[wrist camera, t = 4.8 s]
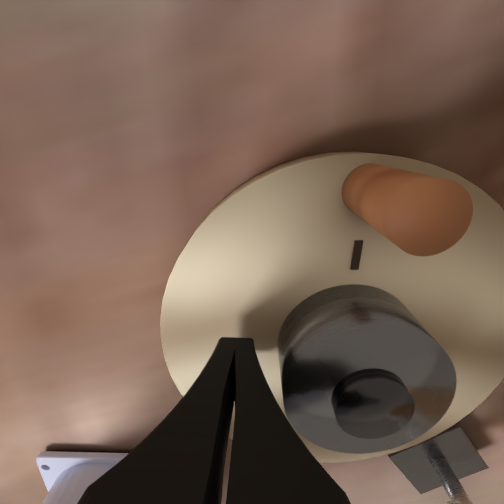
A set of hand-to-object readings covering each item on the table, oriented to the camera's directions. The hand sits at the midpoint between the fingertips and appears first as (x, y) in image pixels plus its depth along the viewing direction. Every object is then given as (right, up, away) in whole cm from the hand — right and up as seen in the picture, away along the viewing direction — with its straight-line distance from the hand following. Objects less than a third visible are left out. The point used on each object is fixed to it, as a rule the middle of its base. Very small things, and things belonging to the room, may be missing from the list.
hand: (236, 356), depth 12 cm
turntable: (+5, +1, +3) cm, 5 cm away
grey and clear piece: (+12, -8, +6) cm, 16 cm away
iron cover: (+5, 0, +1) cm, 5 cm away
